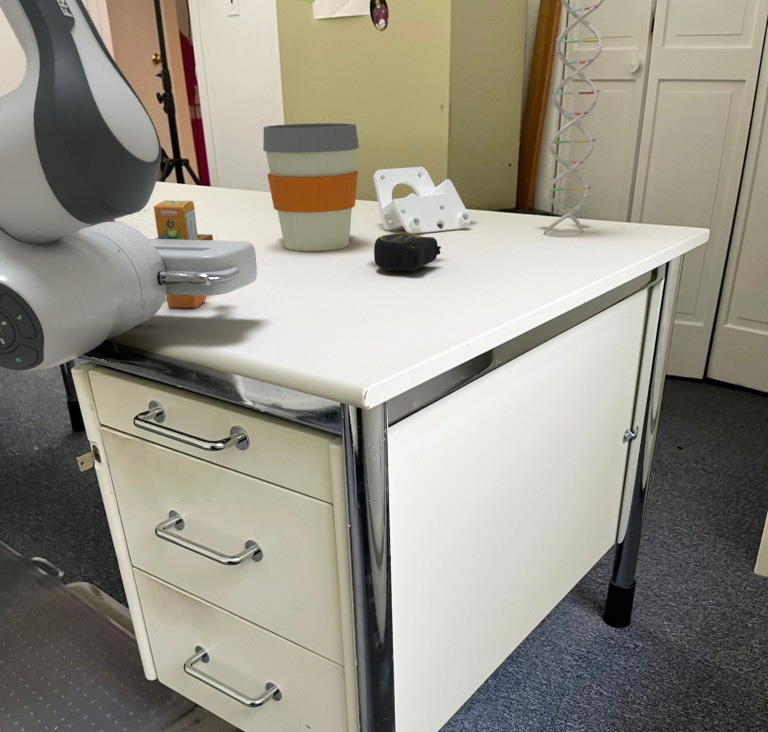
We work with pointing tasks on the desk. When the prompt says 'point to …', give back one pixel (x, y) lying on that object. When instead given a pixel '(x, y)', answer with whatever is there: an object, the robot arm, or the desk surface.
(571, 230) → the desk surface
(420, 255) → the tape measure
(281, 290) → the desk surface
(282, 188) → the reusable coffee cup
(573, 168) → the dna model
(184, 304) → the supplement box
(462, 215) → the mounting bracket
